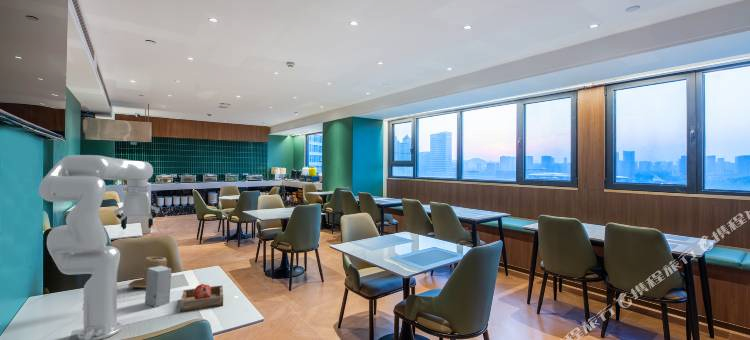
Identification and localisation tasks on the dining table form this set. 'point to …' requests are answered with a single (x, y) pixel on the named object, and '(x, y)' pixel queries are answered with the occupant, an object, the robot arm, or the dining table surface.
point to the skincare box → (158, 286)
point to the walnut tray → (201, 300)
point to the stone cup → (147, 263)
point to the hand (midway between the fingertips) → (137, 228)
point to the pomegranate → (202, 291)
